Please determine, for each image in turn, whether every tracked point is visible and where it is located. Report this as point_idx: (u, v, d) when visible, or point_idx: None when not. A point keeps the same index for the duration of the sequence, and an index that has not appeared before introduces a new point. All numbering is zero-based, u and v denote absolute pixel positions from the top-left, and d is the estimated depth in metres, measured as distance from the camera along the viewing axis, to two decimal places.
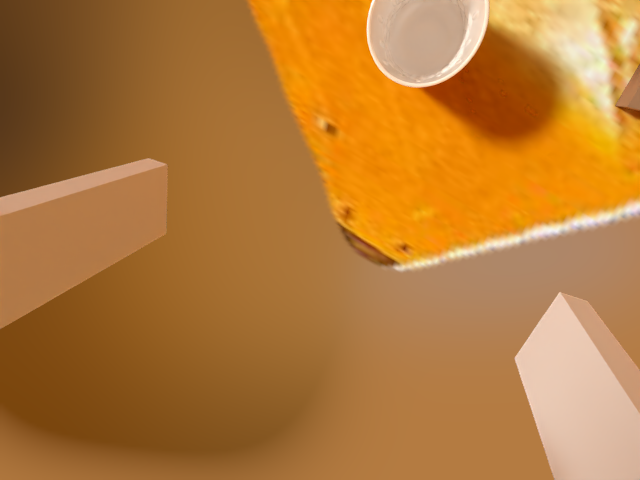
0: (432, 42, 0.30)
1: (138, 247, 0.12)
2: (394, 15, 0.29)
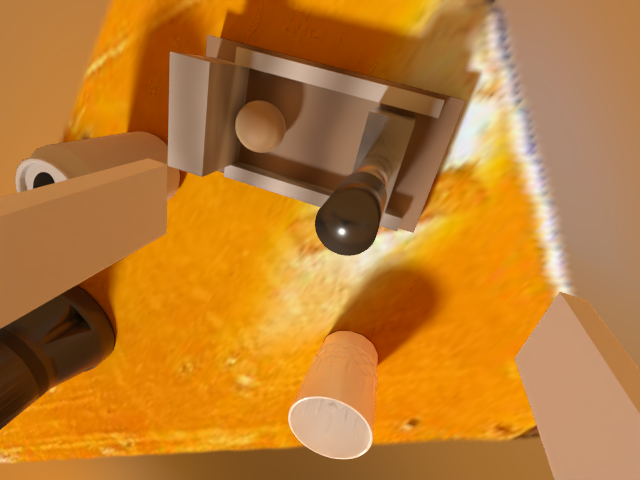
0: None
1: (138, 247, 0.12)
2: None
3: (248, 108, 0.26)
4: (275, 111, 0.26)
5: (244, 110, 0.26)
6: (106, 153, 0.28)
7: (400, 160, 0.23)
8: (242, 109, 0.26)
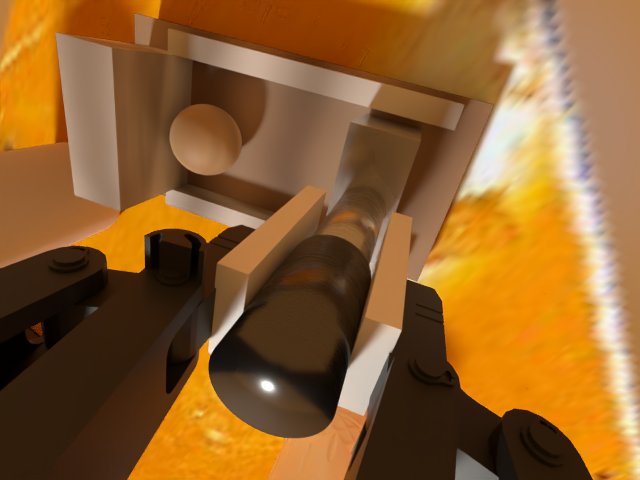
0: None
1: None
2: None
3: (184, 115, 0.18)
4: (224, 119, 0.19)
5: (179, 118, 0.18)
6: None
7: (398, 196, 0.15)
8: (176, 116, 0.19)
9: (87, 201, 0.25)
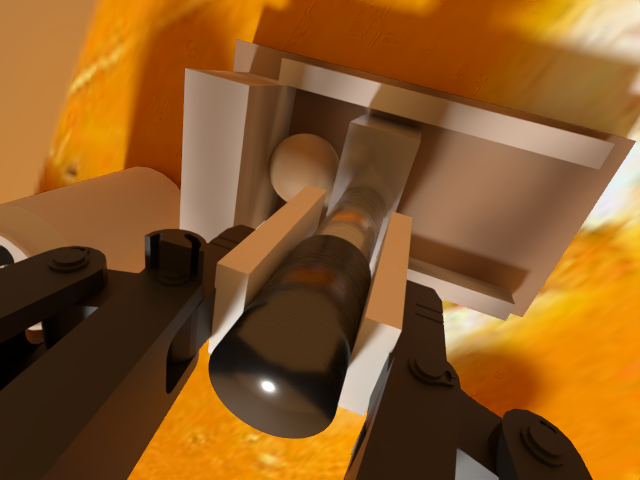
0: None
1: None
2: None
3: (287, 145, 0.18)
4: (326, 151, 0.18)
5: (281, 147, 0.18)
6: (91, 210, 0.20)
7: (398, 196, 0.15)
8: (279, 145, 0.18)
9: None
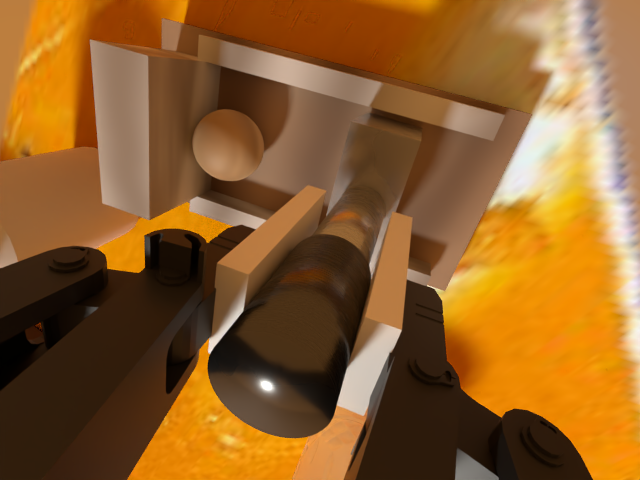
0: None
1: None
2: None
3: (206, 119, 0.18)
4: (244, 125, 0.18)
5: (201, 122, 0.18)
6: (22, 183, 0.20)
7: (398, 195, 0.15)
8: (200, 121, 0.19)
9: (108, 207, 0.25)
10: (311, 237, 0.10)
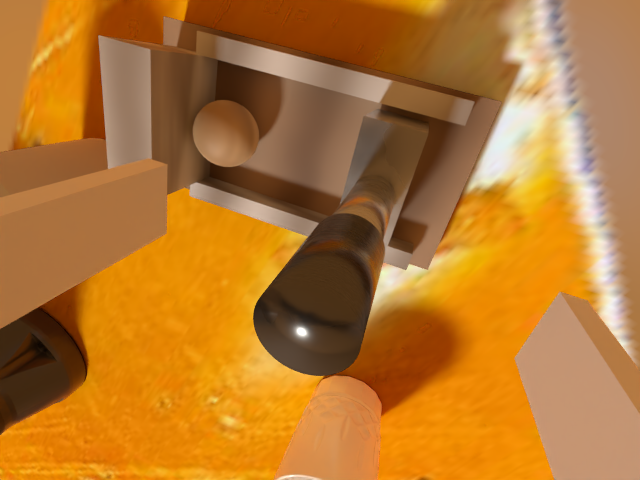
0: None
1: (138, 247, 0.12)
2: None
3: (205, 109, 0.20)
4: (240, 114, 0.20)
5: (201, 112, 0.20)
6: (36, 168, 0.22)
7: (407, 184, 0.16)
8: None
9: None
10: (332, 216, 0.11)
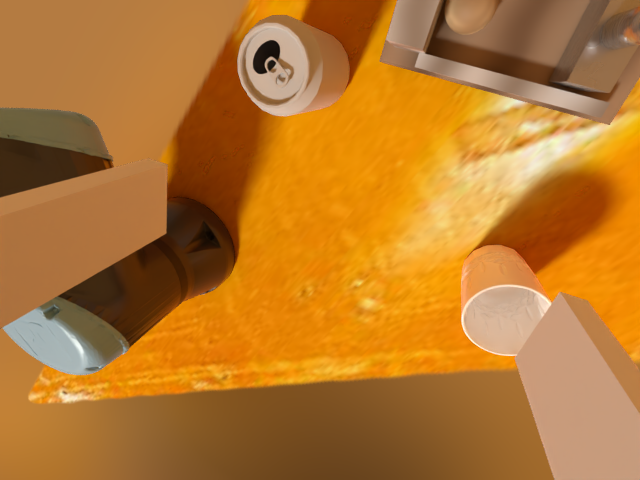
0: None
1: (138, 247, 0.12)
2: (476, 301, 0.39)
3: None
4: None
5: None
6: (317, 31, 0.28)
7: None
8: None
9: (342, 70, 0.33)
10: None
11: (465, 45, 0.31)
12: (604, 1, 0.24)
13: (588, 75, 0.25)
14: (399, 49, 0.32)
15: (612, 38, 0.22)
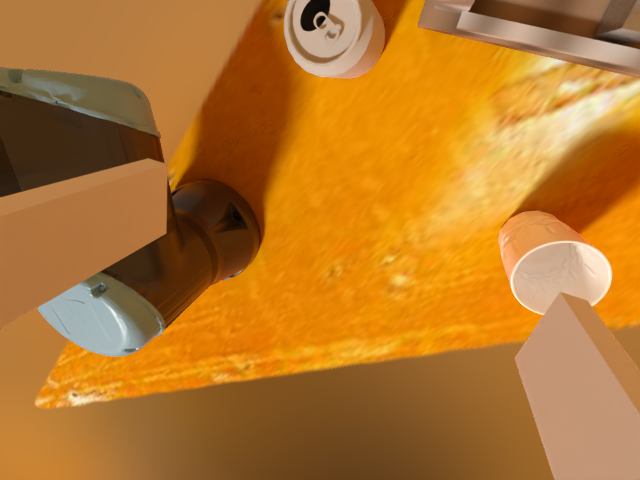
0: None
1: (138, 247, 0.12)
2: (515, 268, 0.39)
3: None
4: None
5: None
6: None
7: None
8: None
9: (381, 33, 0.32)
10: None
11: (507, 3, 0.30)
12: None
13: None
14: (439, 10, 0.32)
15: None
